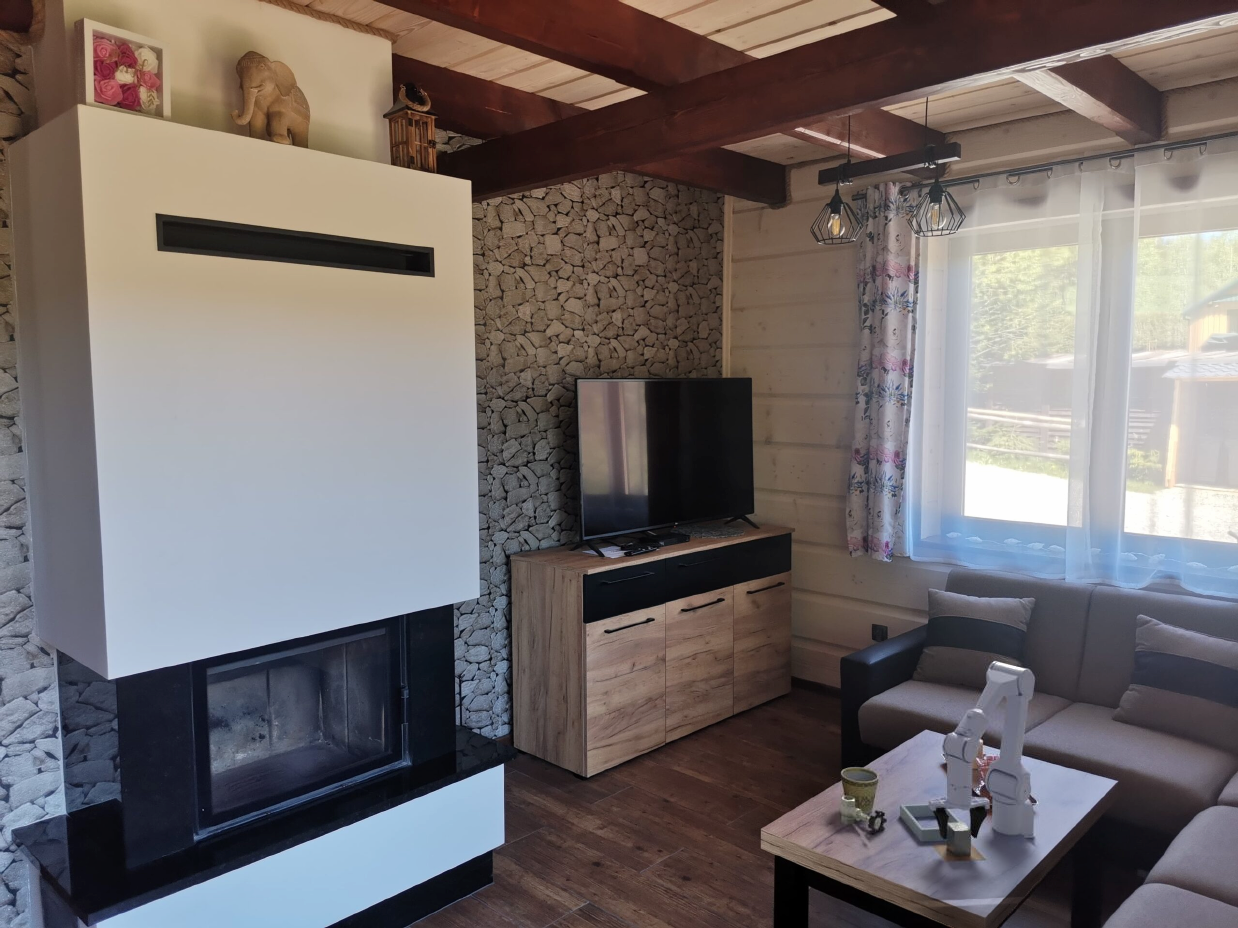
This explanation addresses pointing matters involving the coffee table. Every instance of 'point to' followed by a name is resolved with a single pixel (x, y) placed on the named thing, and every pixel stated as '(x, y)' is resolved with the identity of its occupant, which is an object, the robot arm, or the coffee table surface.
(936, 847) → the stud block
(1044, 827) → the coffee table surface
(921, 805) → the bin
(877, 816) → the valve
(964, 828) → the grey rectangular block
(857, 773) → the ceramic cup
